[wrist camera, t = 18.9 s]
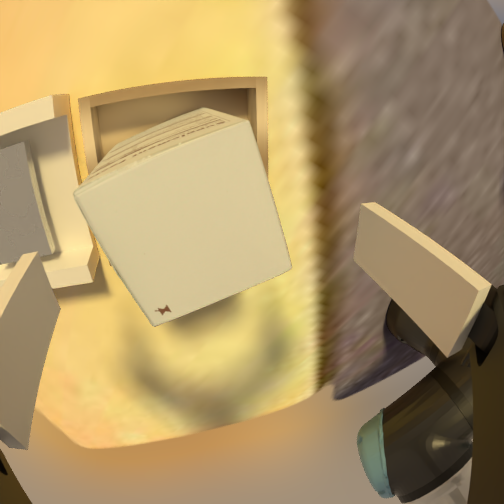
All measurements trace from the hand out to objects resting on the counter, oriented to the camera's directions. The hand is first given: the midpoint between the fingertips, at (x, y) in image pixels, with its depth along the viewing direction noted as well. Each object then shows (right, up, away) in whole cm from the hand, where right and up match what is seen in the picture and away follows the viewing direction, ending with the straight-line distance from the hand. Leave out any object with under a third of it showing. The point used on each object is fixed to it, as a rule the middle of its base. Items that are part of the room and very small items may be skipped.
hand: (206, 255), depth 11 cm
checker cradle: (-18, +5, +8) cm, 20 cm away
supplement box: (-4, +7, +11) cm, 14 cm away
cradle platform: (-17, +4, +7) cm, 19 cm away
